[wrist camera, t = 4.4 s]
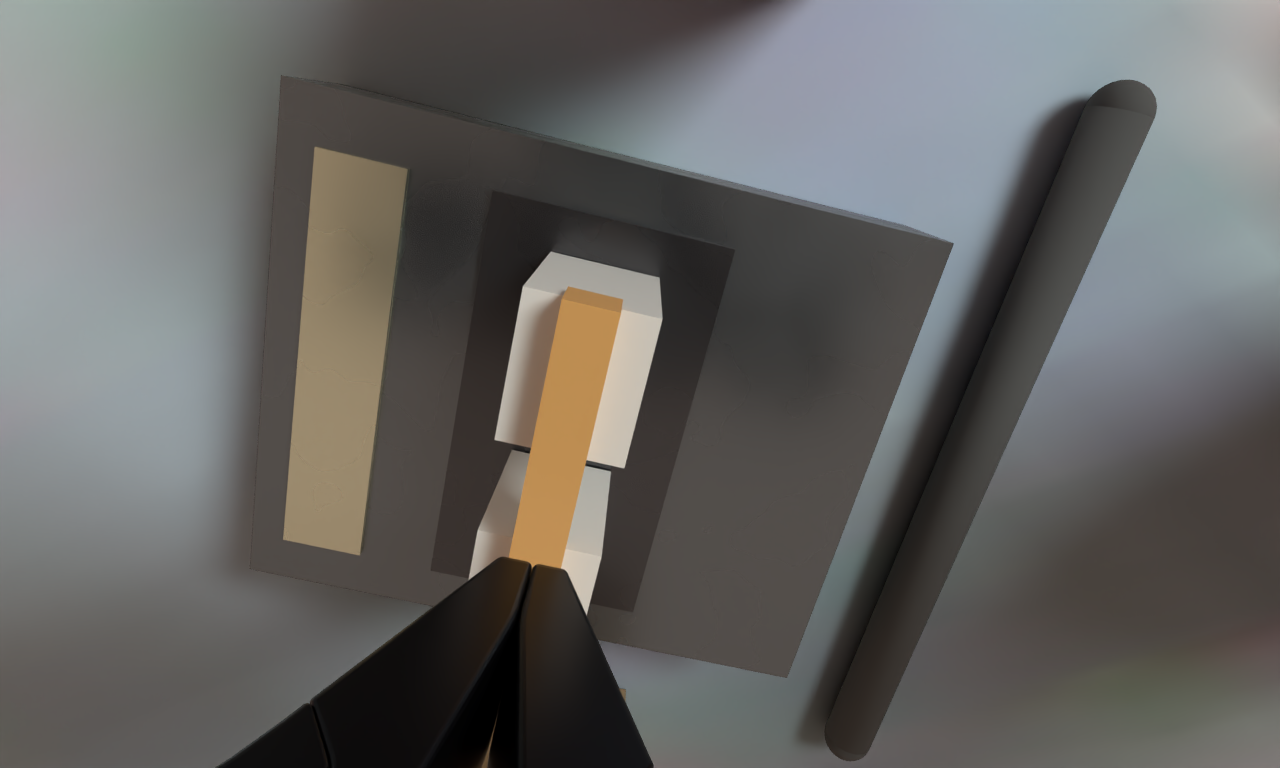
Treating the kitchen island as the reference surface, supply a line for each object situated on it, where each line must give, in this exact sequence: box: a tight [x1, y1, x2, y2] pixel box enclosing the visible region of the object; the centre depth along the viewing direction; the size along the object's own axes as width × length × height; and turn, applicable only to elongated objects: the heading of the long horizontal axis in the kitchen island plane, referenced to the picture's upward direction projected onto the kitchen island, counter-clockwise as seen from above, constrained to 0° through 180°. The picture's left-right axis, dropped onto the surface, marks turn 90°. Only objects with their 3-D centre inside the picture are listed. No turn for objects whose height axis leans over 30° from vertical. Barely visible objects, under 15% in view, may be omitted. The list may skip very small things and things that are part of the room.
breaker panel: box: [250, 75, 954, 678], centre depth 15 cm, size 12×10×3 cm
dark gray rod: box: [825, 80, 1157, 761], centre depth 16 cm, size 1×17×1 cm, turn 166°
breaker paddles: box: [469, 252, 663, 615], centre depth 12 cm, size 2×7×4 cm, turn 166°
